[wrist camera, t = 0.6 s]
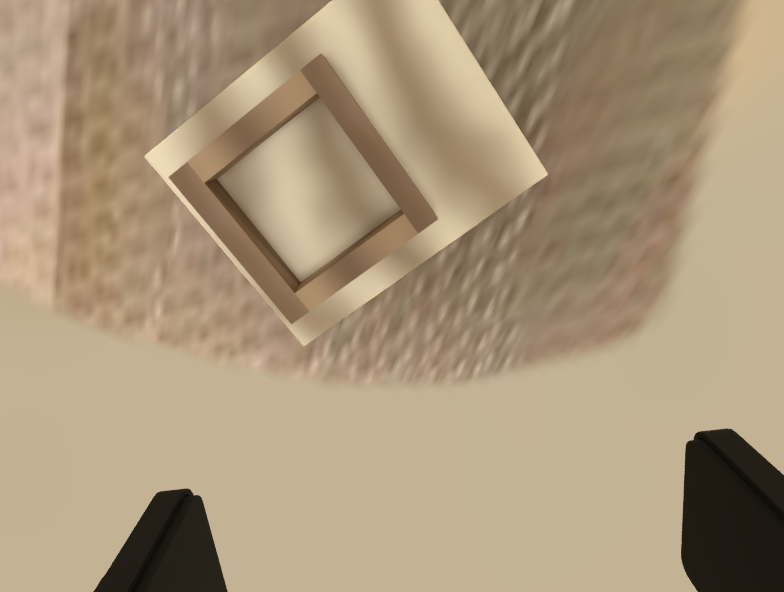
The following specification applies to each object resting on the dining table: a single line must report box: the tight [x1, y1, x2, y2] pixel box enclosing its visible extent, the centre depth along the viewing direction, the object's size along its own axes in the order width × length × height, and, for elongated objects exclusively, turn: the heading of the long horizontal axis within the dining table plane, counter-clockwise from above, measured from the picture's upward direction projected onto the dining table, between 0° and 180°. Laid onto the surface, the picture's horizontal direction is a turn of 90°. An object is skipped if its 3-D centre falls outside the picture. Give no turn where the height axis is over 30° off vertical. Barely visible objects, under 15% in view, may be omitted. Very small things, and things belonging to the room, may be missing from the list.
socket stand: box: [144, 0, 548, 346], centre depth 34 cm, size 20×16×4 cm
